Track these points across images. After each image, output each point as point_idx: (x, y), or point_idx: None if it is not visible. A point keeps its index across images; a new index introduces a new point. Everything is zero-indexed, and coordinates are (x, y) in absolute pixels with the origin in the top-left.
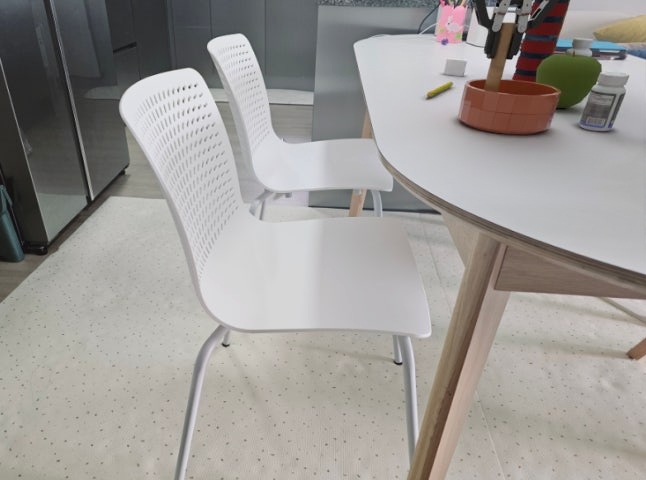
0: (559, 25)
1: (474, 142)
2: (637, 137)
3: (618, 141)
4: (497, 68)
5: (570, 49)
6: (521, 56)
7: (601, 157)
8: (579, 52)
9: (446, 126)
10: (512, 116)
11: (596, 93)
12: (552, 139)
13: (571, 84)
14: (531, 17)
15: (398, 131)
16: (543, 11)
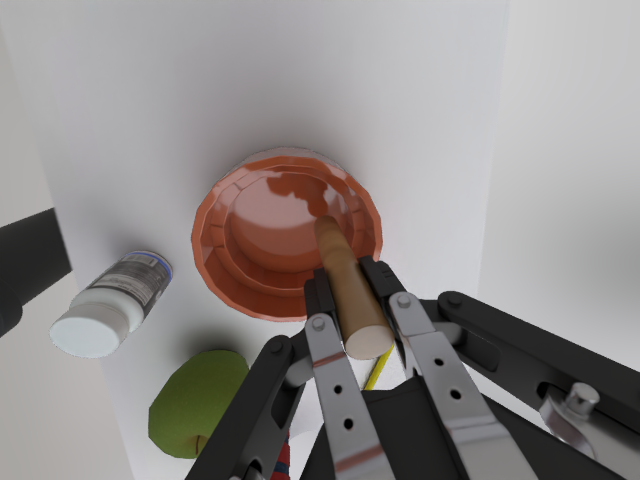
0: None
1: (333, 62)
2: (69, 242)
3: (91, 199)
4: (338, 247)
5: None
6: (285, 465)
7: (87, 49)
8: None
9: (379, 167)
10: (276, 150)
11: (129, 292)
12: (199, 158)
13: (195, 371)
14: (297, 392)
15: (466, 86)
16: (259, 395)
